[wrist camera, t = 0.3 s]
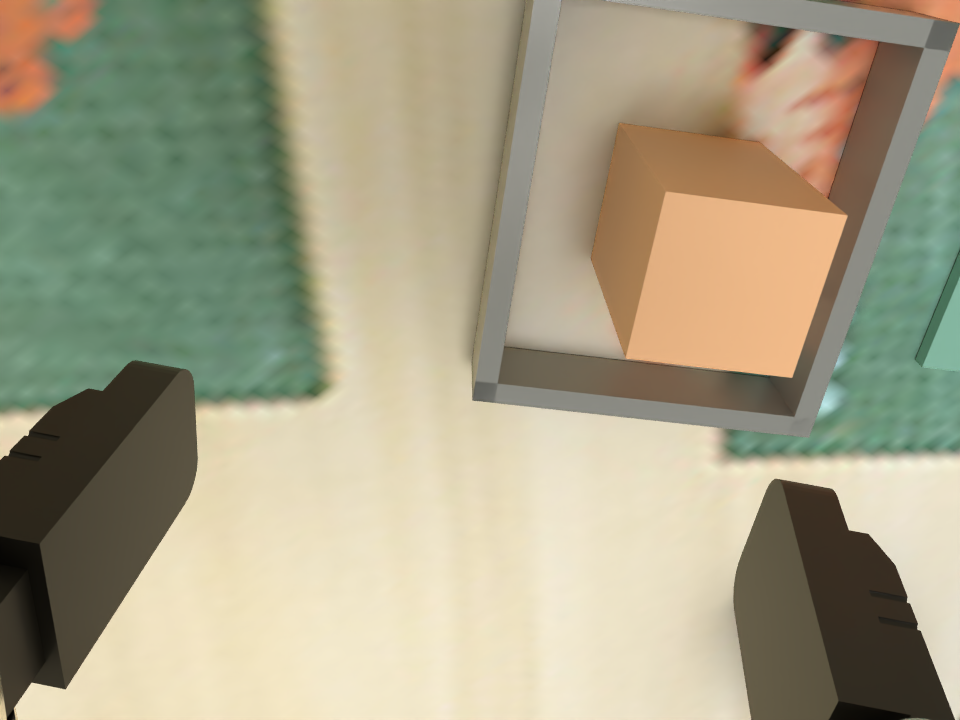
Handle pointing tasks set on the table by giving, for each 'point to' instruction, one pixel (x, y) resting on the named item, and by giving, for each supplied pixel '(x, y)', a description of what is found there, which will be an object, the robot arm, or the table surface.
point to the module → (711, 251)
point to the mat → (944, 329)
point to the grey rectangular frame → (856, 191)
